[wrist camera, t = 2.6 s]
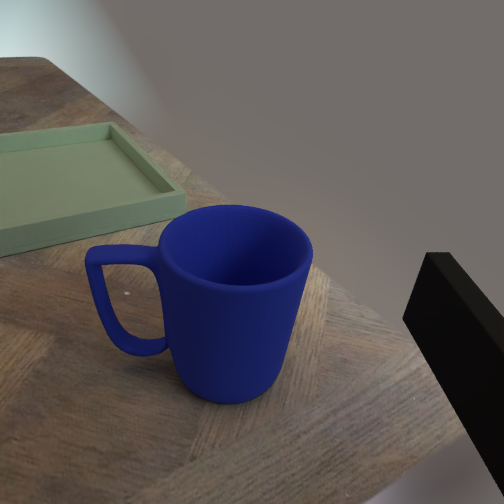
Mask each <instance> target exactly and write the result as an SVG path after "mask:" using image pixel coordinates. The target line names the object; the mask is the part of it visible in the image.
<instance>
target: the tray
mask: <svg viewBox="0 0 504 504" xmlns="http://www.w3.org/2000/svg"><path fill="white" fill-rule="evenodd" d="M185 213H186V192H185V191H184V190H183V189H182V188H181V187H180V186H179V185H178V184H177V183H176V182H175V181H174V180H173V179H172V178H171V177H170V176H169V175H168V174H167V173H166V172H165V171H164V170H163V169H162V168H161V167H160V166H159V165H158V164H157V163H156V162H155V161H154V160H152V159H151V158H150V157H149V156H148V155H147V154H146V153H145V152H144V151H143V150H142V149H141V148H140V147H139V146H138V145H137V144H136V143H135V142H134V141H133V140H132V139H131V138H130V137H129V136H128V135H127V134H126V133H125V132H124V131H123V130H122V129H121V128H120V127H119V126H118V125H117V124H116V123H115V122H106V123H96V124H87V125H78V126H69V127H60V128H50V129H41V130H32V131H23V132H13V133H4V134H0V257H4V256H8V255H13V254H17V253H22V252H26V251H30V250H35V249H39V248H44V247H48V246H53V245H57V244H62V243H66V242H71V241H75V240H79V239H84V238H88V237H93V236H97V235H102V234H106V233H111V232H115V231H120V230H124V229H129V228H133V227H137V226H142V225H146V224H151V223H155V222H160V221H164V220H169V219H173V218H177V217H179V216H181V215H183V214H185Z"/></svg>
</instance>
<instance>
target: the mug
mask: <svg viewBox="0 0 504 504" xmlns="http://www.w3.org/2000/svg"><path fill="white" fill-rule="evenodd" d="M312 258H313V249H312V245H311V242H310V240H309V238H308V236H307V235H306V234H305V233H304V232H303V230H302V229H301V228H300V227H298V226H297V225H296V224H295V223H293V222H292V221H290V220H289V219H287V218H285V217H283V216H281V215H279V214H276V213H274V212H271V211H268V210H264V209H260V208H256V207H250V206H242V205H216V206H209V207H203V208H199V209H195V210H192V211H189V212H187V213H185V214H183V215H181V216H179V217H177V218H176V219H174V220H173V221H172V222H170V223H169V224H168V225H167V226H166V227H165V229H164V230H163V232H162V234H161V236H160V239H159V244H158V246H156V247H150V246H143V245H128V244H119V245H100V246H94V247H92V248H90V249H89V250H88V252H87V253H86V257H85V268H86V272H87V276H88V280H89V284H90V288H91V292H92V295H93V299H94V302H95V305H96V308H97V311H98V314H99V317H100V319H101V322H102V324H103V326H104V328H105V330H106V333H107V334H108V336H109V338H110V339H111V341H112V342H113V343H114V344H115V345H116V346H117V347H118V348H119V349H120V350H122V351H124V352H125V353H128V354H130V355H134V356H142V357H144V356H153V355H157V354H159V353H161V352H163V351H164V350H166V349H167V348H170V350H171V354H172V357H173V360H174V364H175V366H176V369H177V372H178V374H179V376H180V378H181V379H182V381H183V383H184V384H185V385H186V386H187V387H188V388H189V389H190V390H191V391H192V392H193V393H195V394H196V395H198V396H200V397H201V398H204V399H206V400H208V401H212V402H215V403H222V404H236V403H242V402H246V401H249V400H252V399H254V398H256V397H258V396H260V395H261V394H262V393H264V392H265V391H266V390H267V389H268V388H269V387H270V386H271V385H272V384H273V383H274V381H275V380H276V378H277V376H278V374H279V372H280V370H281V367H282V364H283V361H284V357H285V354H286V350H287V347H288V343H289V340H290V336H291V333H292V329H293V326H294V322H295V319H296V315H297V312H298V308H299V305H300V301H301V298H302V294H303V291H304V287H305V284H306V280H307V277H308V273H309V270H310V266H311V263H312ZM109 264H135V265H142V266H145V267H147V268H149V269H150V270H151V271H152V272H153V273H154V275H155V277H156V280H157V283H158V287H159V291H160V296H161V302H162V310H163V319H164V328H165V337H163V338H159V339H141V338H138V337H135V336H133V335H131V334H129V333H128V332H127V331H126V330H125V329H124V328H123V327H122V326H121V324H120V323H119V321H118V319H117V317H116V315H115V313H114V311H113V308H112V305H111V302H110V299H109V295H108V292H107V288H106V284H105V280H104V275H103V271H102V266H101V265H109Z"/></svg>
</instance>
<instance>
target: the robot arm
mask: <svg viewBox="0 0 504 504" xmlns="http://www.w3.org/2000/svg"><path fill="white" fill-rule="evenodd" d="M402 319H403V321H404V322H405V324H406V326H407V328H408V329H409V331H410V333H411V335H412V336H413V338H414V340H415V342H416V343H417V345H418V347H419V349H420V351H421V352H422V354H423V356H424V358H425V359H426V361H427V363H428V365H429V366H430V368H431V370H432V372H433V373H434V375H435V377H436V379H437V380H438V382H439V384H440V386H441V387H442V389H443V391H444V393H445V394H446V396H447V398H448V400H449V401H450V403H451V405H452V407H453V408H454V410H455V412H456V414H457V415H458V417H459V419H460V421H461V422H462V424H463V426H464V428H465V429H466V431H467V433H468V435H469V436H470V438H471V440H472V442H473V444H474V445H475V447H476V449H477V451H478V452H479V454H480V456H481V458H482V459H483V461H484V463H485V465H486V466H487V468H488V470H489V472H490V473H491V475H492V477H493V479H494V480H495V482H496V484H497V486H498V487H499V489H500V491H501V493H502V494H503V496H504V317H503V316H502V315H501V314H500V313H499V311H498V310H497V309H496V308H495V307H494V305H493V304H492V303H491V302H490V301H489V300H488V298H487V297H486V296H485V295H484V294H483V292H482V291H481V290H480V289H479V287H478V286H477V285H476V284H475V283H474V282H473V280H472V279H471V278H470V277H469V276H468V274H467V273H466V272H465V271H464V270H463V268H462V267H461V266H460V265H459V264H458V262H457V261H456V260H455V259H454V258H453V256H452V255H451V254H450V253H449V252H445V253H444V252H434V253H433V252H427V253H426V255H425V258H424V260H423V263H422V266H421V268H420V271H419V274H418V277H417V279H416V283H415V285H414V288H413V291H412V293H411V296H410V299H409V302H408V304H407V307H406V310H405V312H404V315H403V318H402Z"/></svg>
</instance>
